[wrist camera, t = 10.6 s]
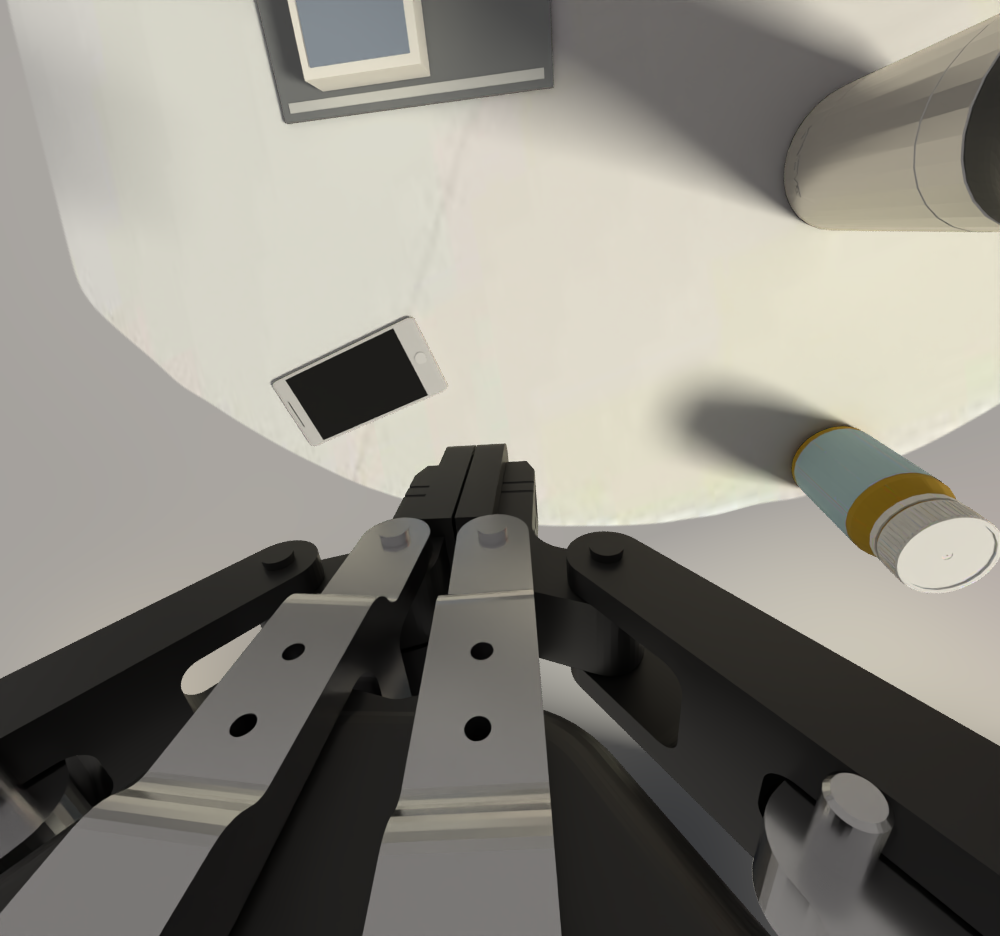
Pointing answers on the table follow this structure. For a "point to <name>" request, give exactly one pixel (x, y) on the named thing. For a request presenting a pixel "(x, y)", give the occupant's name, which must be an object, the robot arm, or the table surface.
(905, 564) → the bottle
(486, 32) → the mat
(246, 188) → the table surface
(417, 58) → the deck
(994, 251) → the table surface
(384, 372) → the smartphone
